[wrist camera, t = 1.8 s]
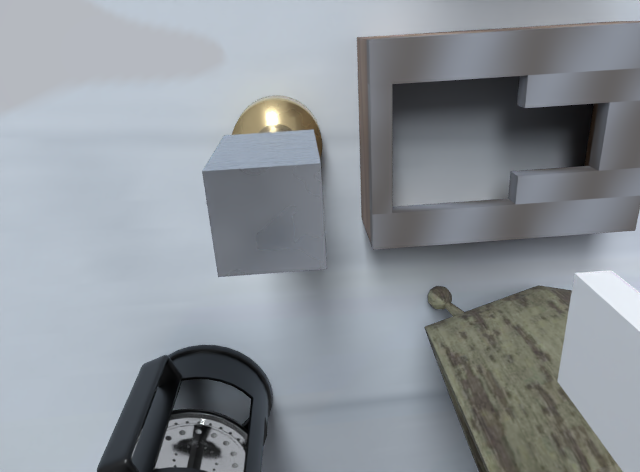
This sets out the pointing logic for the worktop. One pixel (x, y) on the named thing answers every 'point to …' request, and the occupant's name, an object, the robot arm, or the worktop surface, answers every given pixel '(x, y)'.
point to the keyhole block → (534, 91)
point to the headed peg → (267, 192)
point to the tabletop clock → (514, 383)
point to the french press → (190, 417)
